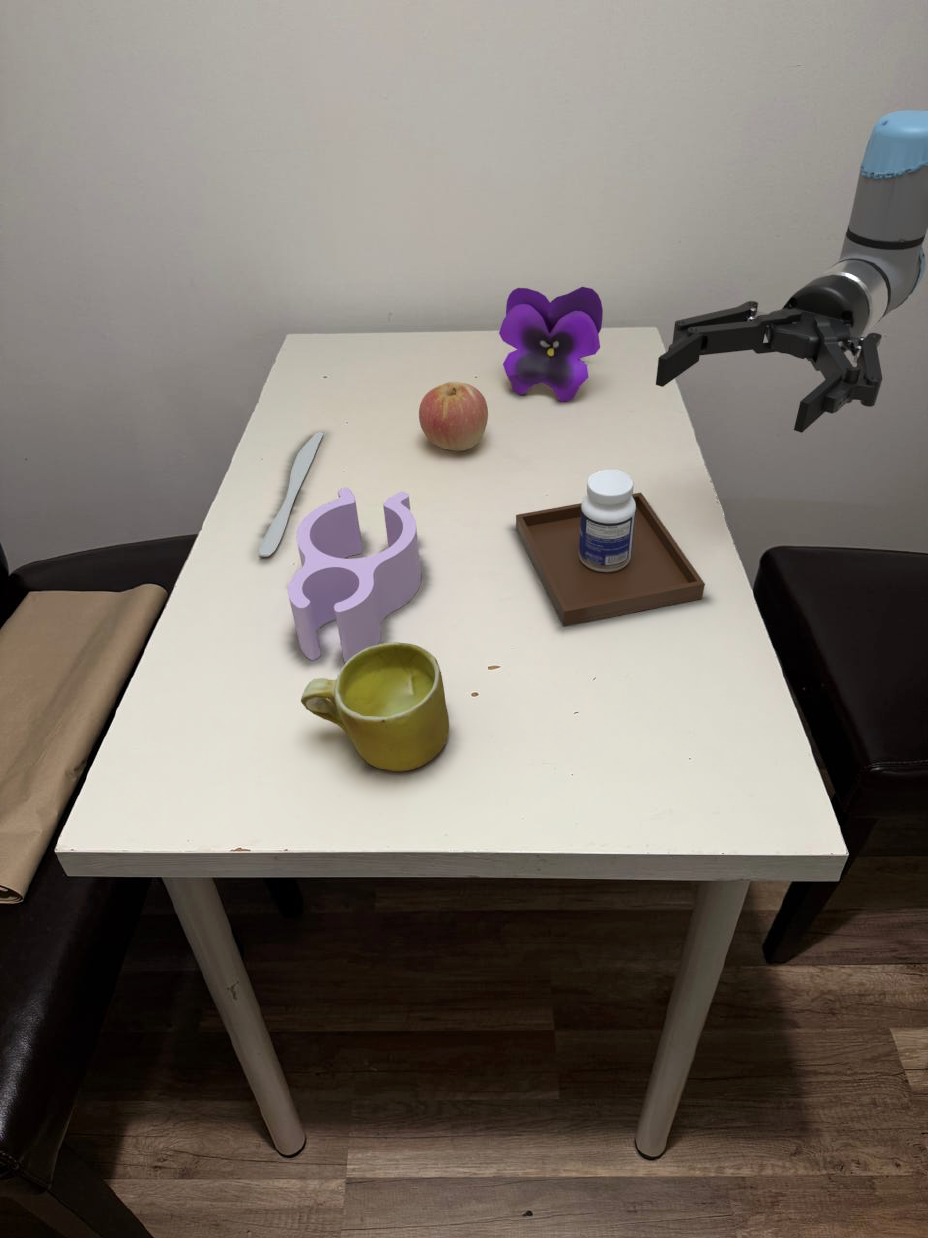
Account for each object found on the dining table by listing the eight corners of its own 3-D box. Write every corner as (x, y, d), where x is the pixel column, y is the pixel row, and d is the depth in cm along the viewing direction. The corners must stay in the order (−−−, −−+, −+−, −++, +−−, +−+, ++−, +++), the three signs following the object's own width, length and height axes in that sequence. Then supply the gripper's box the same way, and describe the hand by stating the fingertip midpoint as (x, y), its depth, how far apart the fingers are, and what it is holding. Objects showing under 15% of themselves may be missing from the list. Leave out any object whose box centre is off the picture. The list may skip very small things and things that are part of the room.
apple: (474, 466, 113) (472, 409, 108) (410, 454, 116) (405, 398, 110) (498, 432, 119) (497, 377, 114) (437, 421, 122) (433, 367, 116)
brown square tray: (702, 599, 93) (705, 583, 91) (563, 626, 91) (563, 611, 89) (639, 506, 105) (641, 492, 104) (515, 529, 103) (515, 514, 102)
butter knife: (247, 553, 101) (272, 553, 100) (307, 431, 120) (328, 431, 120) (249, 557, 101) (274, 557, 100) (308, 435, 121) (329, 435, 120)
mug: (476, 682, 83) (441, 628, 75) (453, 787, 78) (414, 742, 70) (358, 677, 87) (313, 626, 79) (330, 776, 82) (279, 732, 74)
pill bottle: (588, 536, 100) (593, 461, 94) (637, 549, 98) (646, 472, 92) (570, 566, 97) (574, 489, 90) (621, 579, 95) (629, 502, 88)
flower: (515, 391, 137) (486, 389, 125) (531, 289, 133) (503, 276, 121) (607, 406, 133) (586, 406, 121) (627, 300, 129) (607, 289, 116)
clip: (390, 668, 87) (383, 616, 82) (270, 655, 89) (256, 603, 85) (434, 544, 101) (430, 493, 97) (329, 535, 104) (320, 485, 99)
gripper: (948, 381, 86) (855, 478, 74) (715, 317, 98) (606, 391, 87) (975, 304, 81) (880, 396, 69) (726, 248, 93) (611, 317, 82)
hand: (727, 393), depth 78 cm, fingers open, 13 cm apart
